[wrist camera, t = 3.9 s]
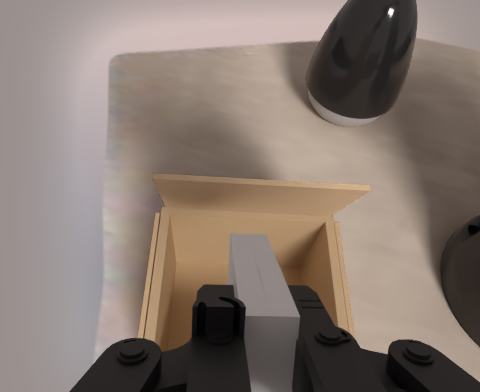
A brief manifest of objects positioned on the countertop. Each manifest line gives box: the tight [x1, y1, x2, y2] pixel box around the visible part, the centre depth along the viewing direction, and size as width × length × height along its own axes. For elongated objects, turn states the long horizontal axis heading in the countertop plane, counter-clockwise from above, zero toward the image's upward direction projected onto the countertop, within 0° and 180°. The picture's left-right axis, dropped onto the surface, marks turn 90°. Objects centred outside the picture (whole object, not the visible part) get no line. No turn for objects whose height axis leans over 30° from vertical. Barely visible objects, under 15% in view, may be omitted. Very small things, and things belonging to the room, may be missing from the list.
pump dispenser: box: [306, 0, 417, 127], centre depth 40 cm, size 10×10×15 cm
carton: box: [138, 206, 355, 352], centre depth 28 cm, size 13×12×9 cm
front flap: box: [152, 173, 370, 217], centre depth 23 cm, size 11×7×1 cm
